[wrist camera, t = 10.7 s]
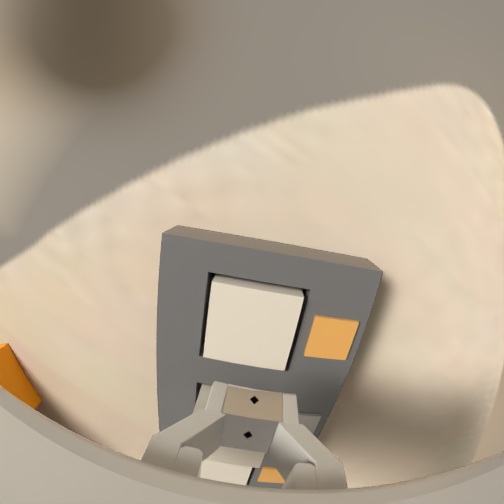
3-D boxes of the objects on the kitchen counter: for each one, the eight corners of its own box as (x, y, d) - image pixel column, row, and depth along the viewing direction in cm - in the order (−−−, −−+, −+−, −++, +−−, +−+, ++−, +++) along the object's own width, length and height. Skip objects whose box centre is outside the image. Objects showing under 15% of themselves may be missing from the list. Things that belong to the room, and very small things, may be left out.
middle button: (274, 396, 16) (274, 428, 13) (260, 437, 17) (259, 468, 14) (202, 383, 16) (192, 415, 13) (198, 427, 17) (190, 456, 14)
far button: (255, 437, 19) (254, 463, 17) (247, 463, 20) (245, 486, 18) (201, 427, 19) (195, 452, 17) (199, 454, 20) (193, 477, 18)
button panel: (367, 258, 16) (384, 272, 13) (283, 474, 21) (283, 496, 18) (177, 225, 16) (160, 233, 13) (170, 456, 21) (163, 476, 18)
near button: (298, 278, 16) (304, 297, 13) (282, 343, 17) (284, 370, 14) (221, 264, 16) (211, 281, 13) (212, 332, 17) (203, 356, 14)
